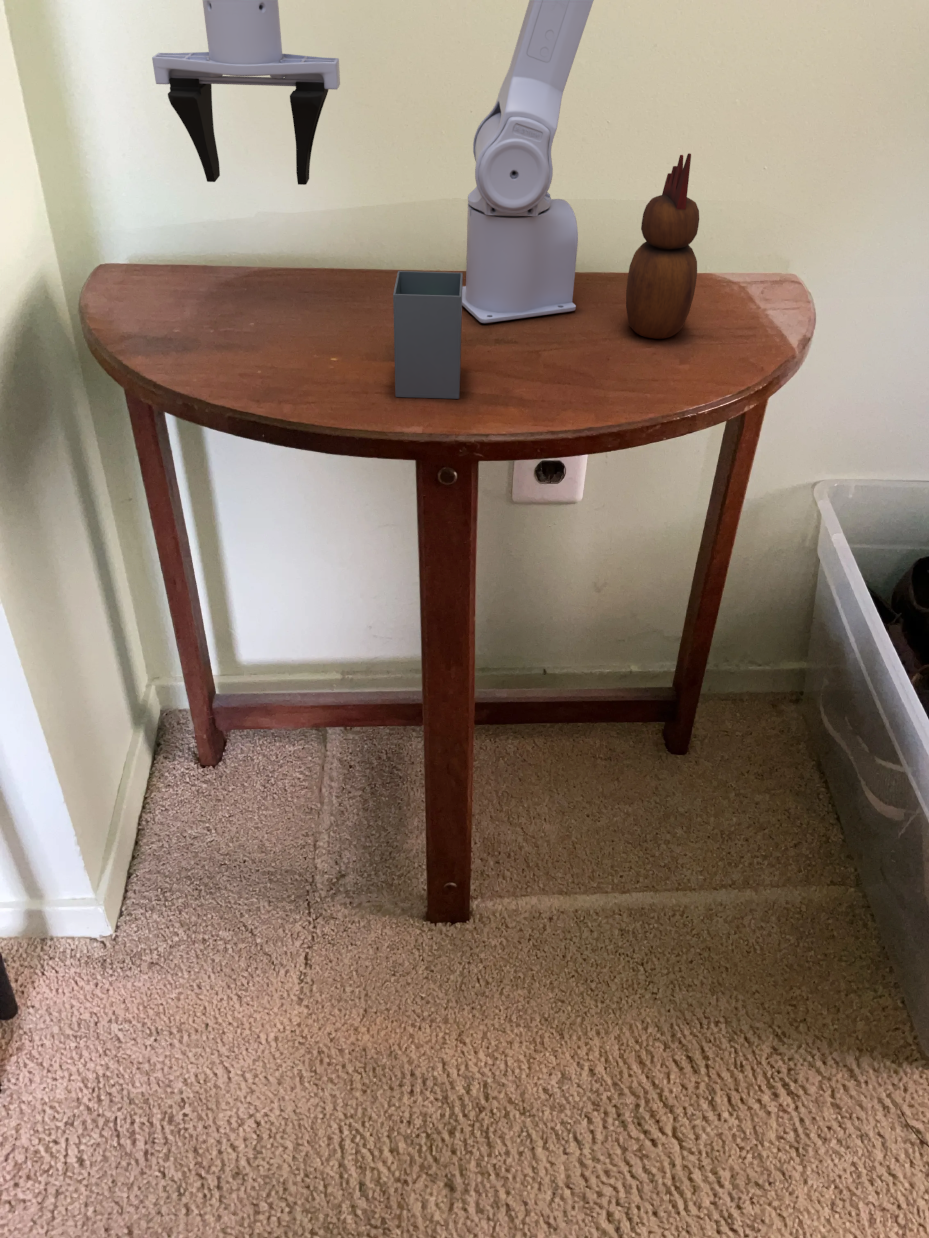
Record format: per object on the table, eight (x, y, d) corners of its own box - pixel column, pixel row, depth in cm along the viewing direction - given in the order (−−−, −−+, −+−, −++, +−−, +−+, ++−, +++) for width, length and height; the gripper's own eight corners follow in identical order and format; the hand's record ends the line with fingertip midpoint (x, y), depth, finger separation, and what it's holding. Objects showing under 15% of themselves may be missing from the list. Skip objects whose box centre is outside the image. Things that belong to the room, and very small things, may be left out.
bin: (460, 371, 80) (462, 272, 75) (459, 399, 76) (461, 296, 71) (399, 370, 80) (397, 270, 75) (395, 397, 76) (393, 294, 71)
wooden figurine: (686, 350, 84) (718, 161, 75) (618, 342, 85) (642, 155, 76) (688, 320, 89) (718, 140, 80) (624, 313, 90) (647, 135, 81)
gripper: (340, -12, 79) (348, 170, 87) (158, -17, 79) (184, 165, 87) (329, 0, 73) (339, 193, 82) (133, -6, 73) (164, 187, 82)
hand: (258, 180), depth 84 cm, fingers open, 7 cm apart
